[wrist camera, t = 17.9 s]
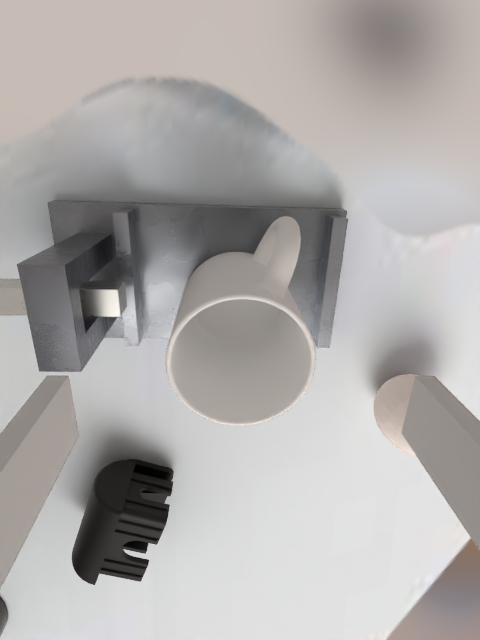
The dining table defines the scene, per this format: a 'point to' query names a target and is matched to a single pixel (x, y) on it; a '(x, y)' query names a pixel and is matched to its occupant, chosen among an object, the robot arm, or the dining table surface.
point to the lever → (93, 296)
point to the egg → (394, 409)
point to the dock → (161, 269)
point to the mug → (243, 334)
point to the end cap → (122, 520)
